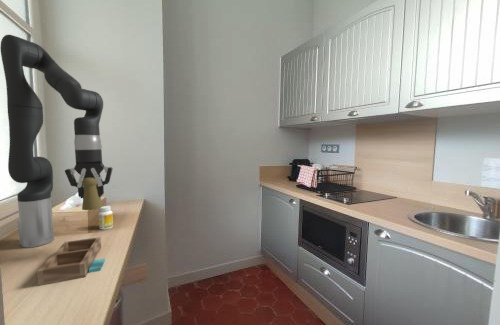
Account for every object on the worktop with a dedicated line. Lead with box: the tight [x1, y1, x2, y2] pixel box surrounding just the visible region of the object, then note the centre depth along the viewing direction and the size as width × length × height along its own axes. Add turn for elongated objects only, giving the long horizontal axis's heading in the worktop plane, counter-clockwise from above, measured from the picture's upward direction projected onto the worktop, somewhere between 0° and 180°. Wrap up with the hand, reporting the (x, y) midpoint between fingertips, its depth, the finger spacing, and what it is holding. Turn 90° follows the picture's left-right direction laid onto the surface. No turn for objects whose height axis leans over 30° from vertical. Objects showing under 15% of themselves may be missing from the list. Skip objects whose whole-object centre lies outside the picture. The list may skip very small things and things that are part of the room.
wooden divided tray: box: [36, 236, 106, 286], centre depth 73 cm, size 20×14×4 cm
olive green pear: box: [81, 177, 103, 211], centre depth 80 cm, size 6×6×11 cm
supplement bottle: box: [98, 205, 114, 231], centre depth 104 cm, size 5×5×10 cm
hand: (91, 196), depth 80 cm, fingers closed on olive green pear, 4 cm apart
